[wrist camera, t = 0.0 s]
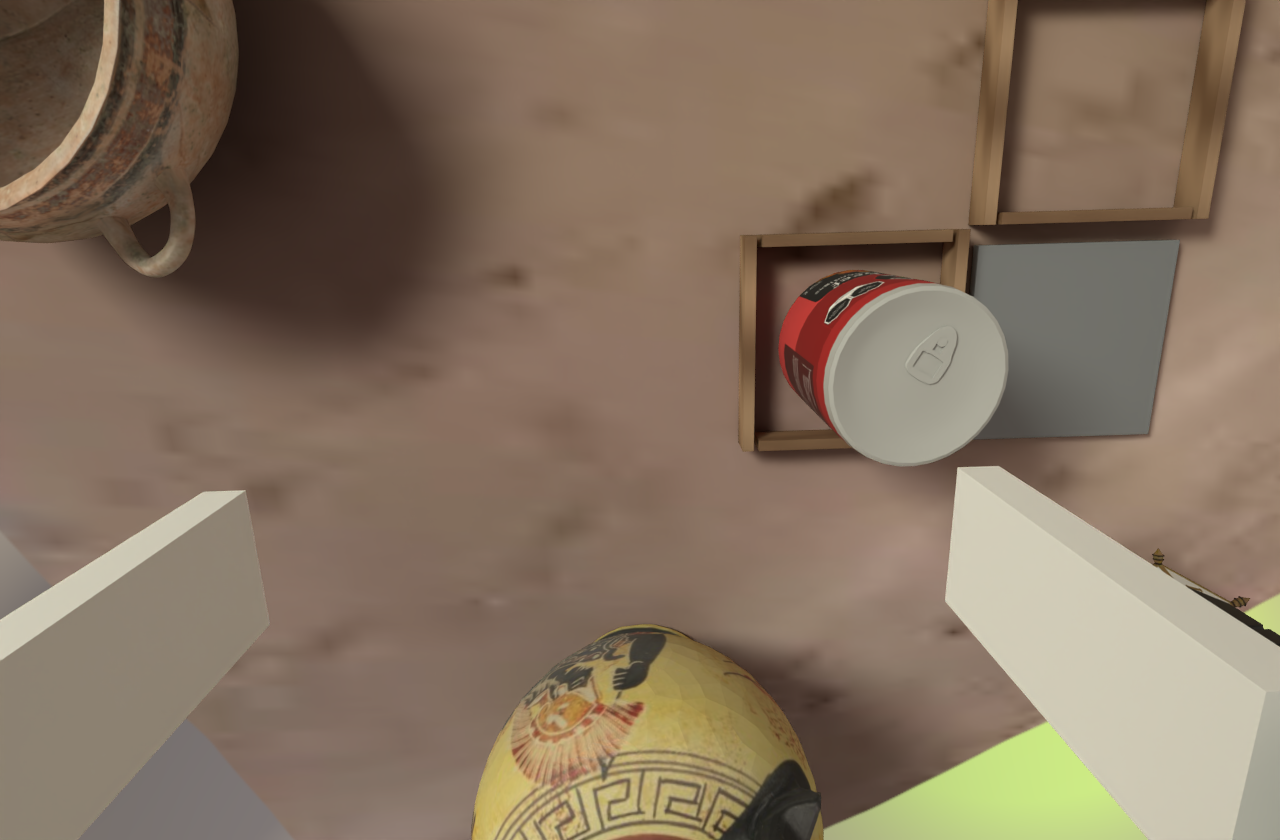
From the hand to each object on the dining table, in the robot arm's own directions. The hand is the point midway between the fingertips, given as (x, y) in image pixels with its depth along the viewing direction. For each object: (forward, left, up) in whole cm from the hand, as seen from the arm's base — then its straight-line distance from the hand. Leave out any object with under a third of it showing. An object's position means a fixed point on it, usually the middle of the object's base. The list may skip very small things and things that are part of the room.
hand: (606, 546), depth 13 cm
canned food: (+1, +13, -28) cm, 31 cm away
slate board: (+1, +25, -28) cm, 38 cm away
